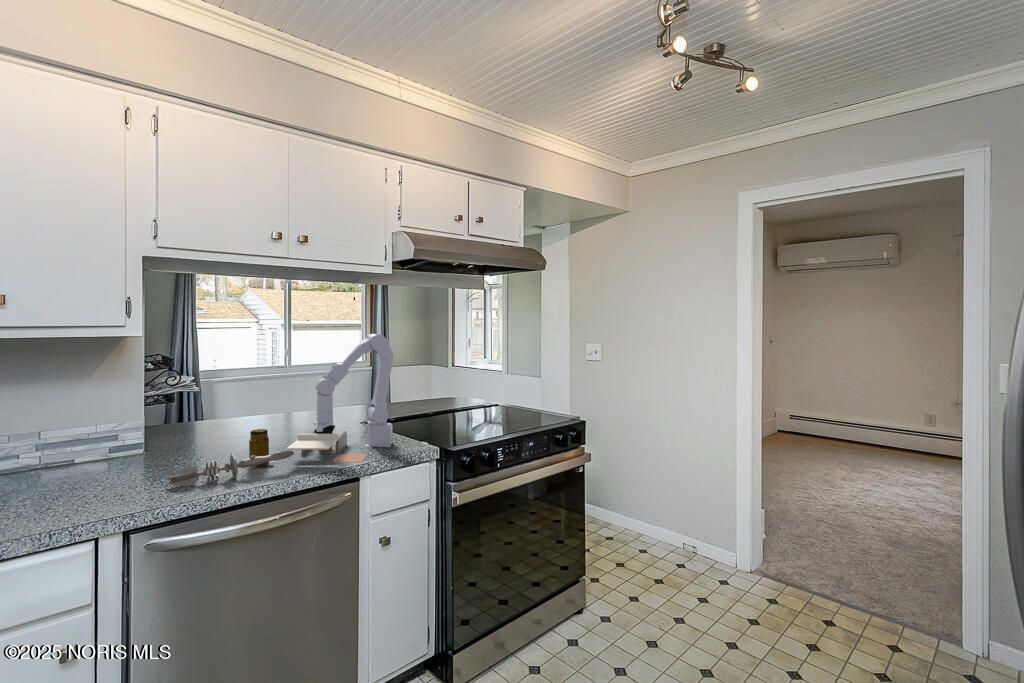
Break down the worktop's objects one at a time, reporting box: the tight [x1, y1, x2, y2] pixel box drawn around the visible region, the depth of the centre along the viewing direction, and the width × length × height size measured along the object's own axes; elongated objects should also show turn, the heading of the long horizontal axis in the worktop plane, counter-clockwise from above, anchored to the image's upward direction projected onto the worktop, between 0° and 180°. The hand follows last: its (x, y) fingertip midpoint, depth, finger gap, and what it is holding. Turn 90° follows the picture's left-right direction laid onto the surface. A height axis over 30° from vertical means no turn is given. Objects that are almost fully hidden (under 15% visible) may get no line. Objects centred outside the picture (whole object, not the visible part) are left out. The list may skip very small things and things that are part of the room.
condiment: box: [246, 428, 275, 469], centre depth 175 cm, size 7×8×12 cm
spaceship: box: [167, 450, 295, 487], centre depth 161 cm, size 8×35×8 cm
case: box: [301, 430, 348, 455], centre depth 194 cm, size 13×13×6 cm
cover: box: [285, 433, 339, 451], centre depth 179 cm, size 14×13×2 cm
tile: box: [332, 453, 368, 463], centre depth 183 cm, size 10×10×1 cm
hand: (324, 446), depth 194 cm, fingers closed on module, 4 cm apart
